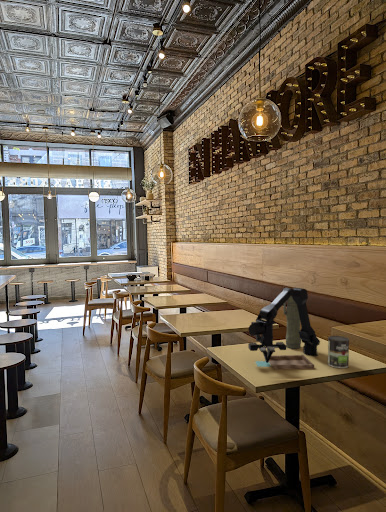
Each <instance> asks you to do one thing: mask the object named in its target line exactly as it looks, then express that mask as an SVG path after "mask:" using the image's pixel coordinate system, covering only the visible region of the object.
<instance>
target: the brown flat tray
mask: <svg viewBox="0 0 386 512" xmlns="http://www.w3.org/2000/svg"><path fill="white" fill-rule="evenodd" d="M269 363H270V365H271V367H272V368H273V369H274V370H306V369H307V370H311V369H312V370H314V369H315V364H314V363H313V362H311V361H310V360H309V359H308V358H307V357H306V356H305V354H287V355H286V354H285V355H271V357H270V359H269Z"/></svg>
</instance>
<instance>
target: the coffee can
mask: <svg viewBox="0 0 386 512" xmlns="http://www.w3.org/2000/svg"><path fill="white" fill-rule="evenodd" d="M327 341H328V342H327V343H328V344H327V347H328V348H327V349H328V350H327V365H328V366H329V367H332V368H336V369H346V368H348V367H349V362H350V361H349V359H350V358H349V357H350V355H349V354H350V338H348V337H345V336H340V335H330V336H328V337H327Z"/></svg>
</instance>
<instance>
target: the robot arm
mask: <svg viewBox="0 0 386 512" xmlns="http://www.w3.org/2000/svg"><path fill="white" fill-rule="evenodd" d="M290 296H292V298H293V300H294V301H295V303H296V304H297V307H298V312H299V317H300V331H299V335H300V338H301V344H304V345H303V347H302V348H303V355H306V356H312V357H317V356H319V354H318V346H319V345H320V344H321V340H320V339H319V338H318V337H317V334H316V331H315V330H314V328H313V327H312V325H311V320H310V316H309V311H308V307H307V301H308V298H309V294H308V290H307V289H306V288H302V287H301V288H300V287H294V288H290V287H284V288H283V289H282V291H281V292H280V293H279V294H278V295H277V296H276V298H274V300H273V301H272V302H271V303H270V304H268V305H265V306H264V307H263V308H261V309H260V310H259V314H257V317H256V319H255V321H251V322H250V323H251V324H250V325H249V327H248V333H249V335H250V336H253V337H255V341H256V342H249V343H248V345H247V346H248V347H247V348H248V349H249V350H250V351H252V352H257V351H258V350H259V351H260V352H261V353H262V355H263V357H264V361H266V363H268V362H269V359H270V357H271V356H273V354H274V353H275V352H276V350H275V349H279V350H280V351H287V347H286V343H284V342H283V341H276V342H275V343H274V341H273V340H274V334H273V333H274V325H276V324H277V322H276V321H275V319H276V317H277V315H278V312H279V310H280V309H281V308H282V306H284V303H285V302H286V303H287V300H288V299H289V298H290ZM257 342H259V343H260V344H258V343H257ZM269 363H270V362H269Z"/></svg>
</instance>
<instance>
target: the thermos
mask: <svg viewBox="0 0 386 512" xmlns="http://www.w3.org/2000/svg"><path fill="white" fill-rule="evenodd" d="M286 303H287V304H286ZM286 305H287V306H286ZM283 315H285V318H286V334H285V345H286V349H290V350H299V349H301V345H302V340H301V338H300V335H299V331H300V330H301V322H300V317H299V312H298V307H297V304H296V303H295V301H294V300H293V298H292V296H290V298H289V299H288V300H287V301H286V302H285V303H284V304H283Z"/></svg>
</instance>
